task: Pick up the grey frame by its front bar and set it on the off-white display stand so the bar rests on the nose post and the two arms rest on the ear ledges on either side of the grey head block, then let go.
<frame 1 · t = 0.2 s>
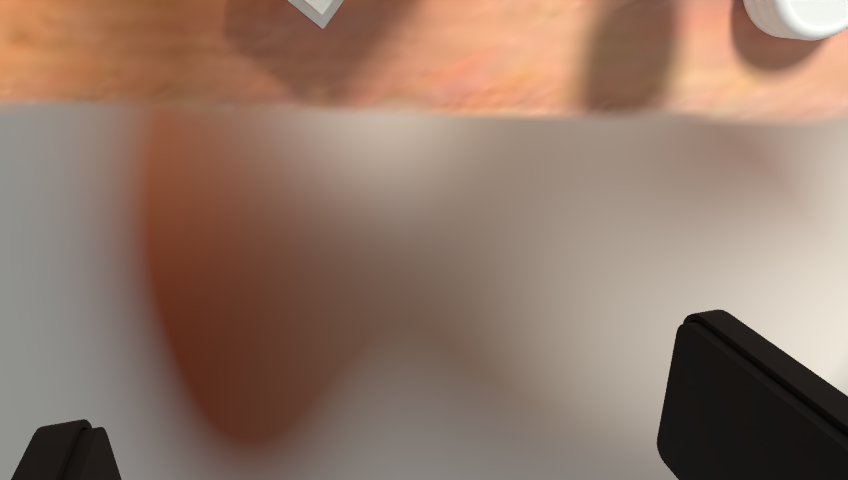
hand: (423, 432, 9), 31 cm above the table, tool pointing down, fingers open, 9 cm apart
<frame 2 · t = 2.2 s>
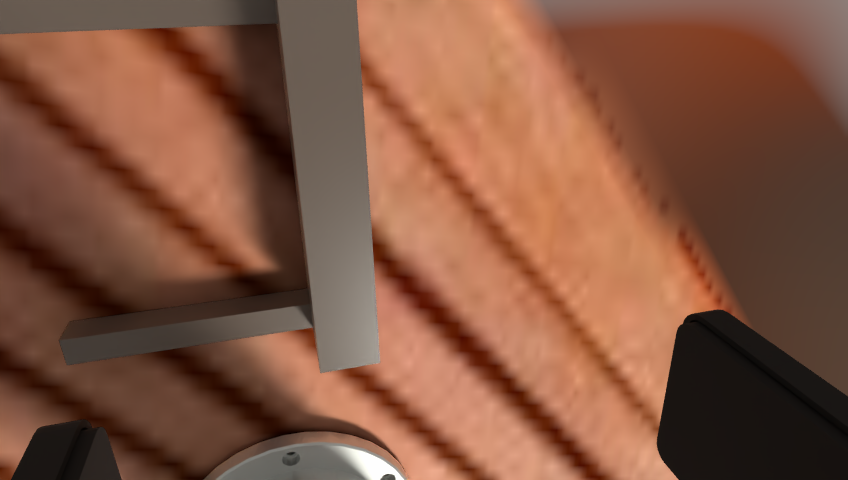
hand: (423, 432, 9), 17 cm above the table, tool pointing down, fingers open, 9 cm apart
grey frame: (322, 164, 25), on the table
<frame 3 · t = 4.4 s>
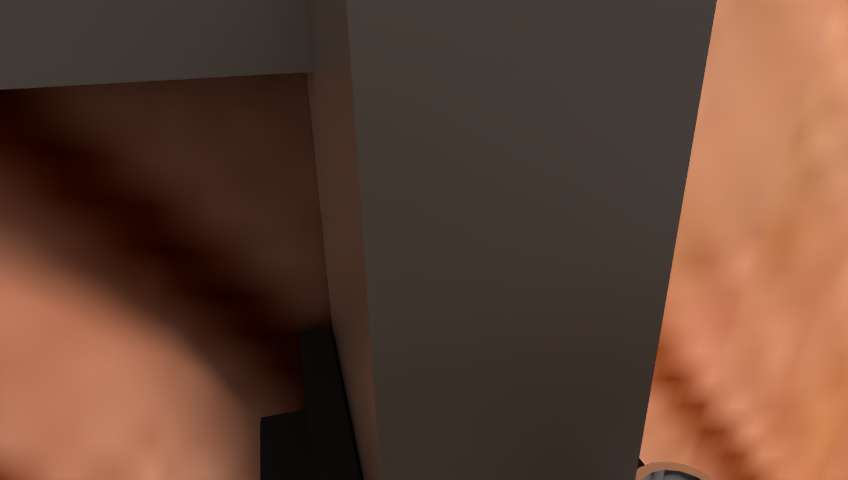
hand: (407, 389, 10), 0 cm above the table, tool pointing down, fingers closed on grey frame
grey frame: (404, 383, 11), on the table, touching gripper
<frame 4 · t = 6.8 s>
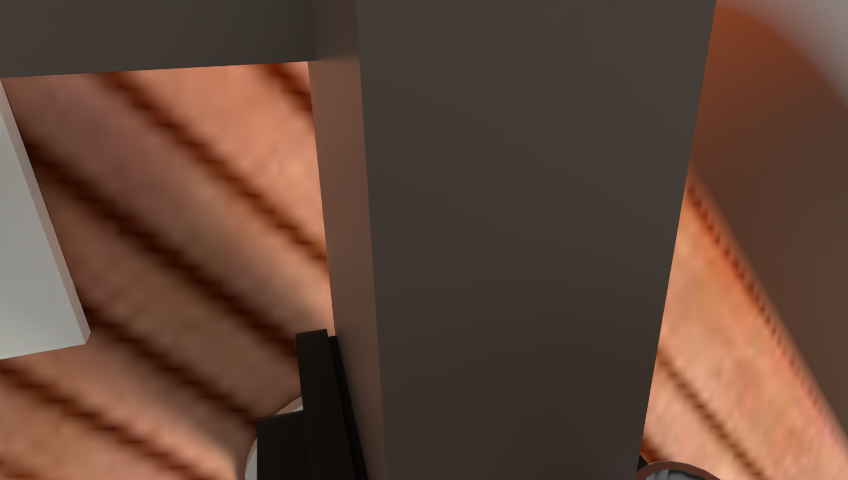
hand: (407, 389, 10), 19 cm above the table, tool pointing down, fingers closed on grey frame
grey frame: (405, 376, 11), point 19 cm above the table, touching gripper
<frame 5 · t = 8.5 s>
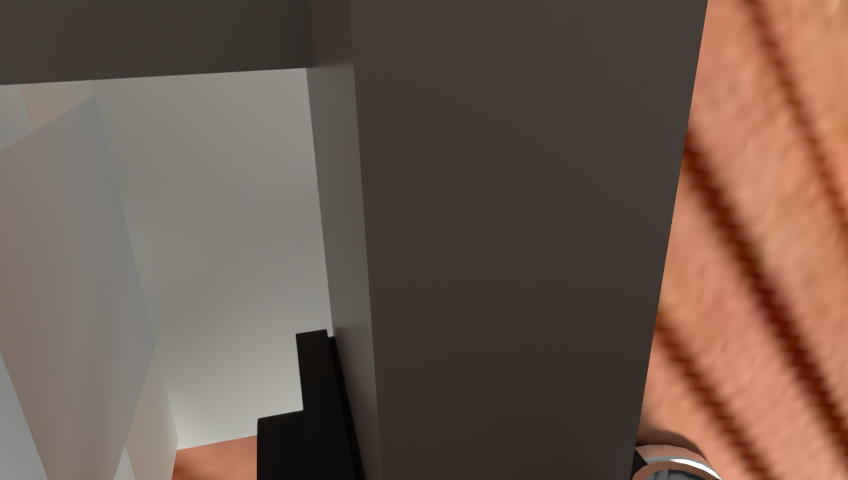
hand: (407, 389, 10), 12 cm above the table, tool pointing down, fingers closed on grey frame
stand: (212, 212, 20), on the table
grey frame: (403, 379, 11), point 11 cm above the table, touching gripper
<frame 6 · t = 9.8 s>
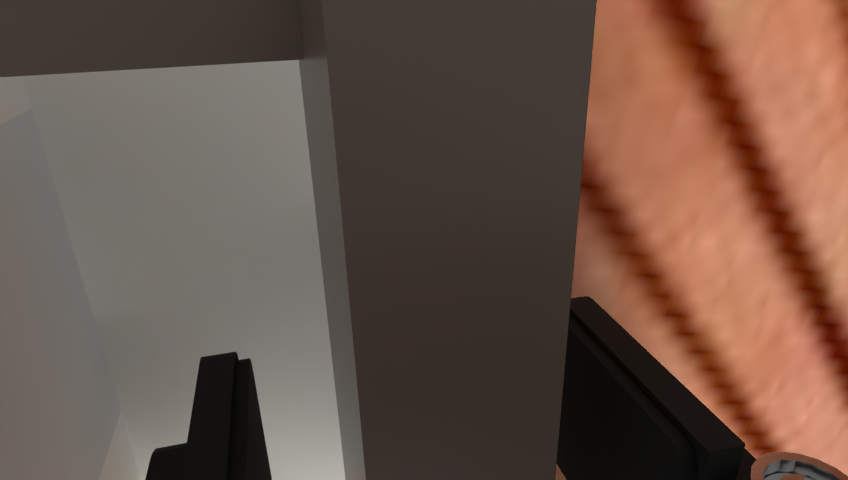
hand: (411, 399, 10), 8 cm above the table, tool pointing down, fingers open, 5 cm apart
stand: (189, 248, 16), on the table
grey frame: (389, 340, 12), point 6 cm above the table, touching stand
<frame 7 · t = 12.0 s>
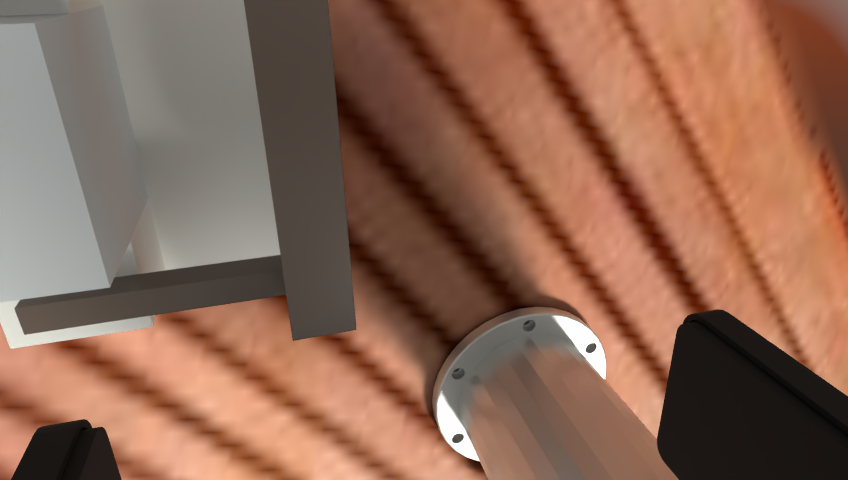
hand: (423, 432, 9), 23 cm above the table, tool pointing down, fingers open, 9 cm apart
stand: (188, 99, 28), on the table
grey frame: (293, 121, 23), point 6 cm above the table, touching stand
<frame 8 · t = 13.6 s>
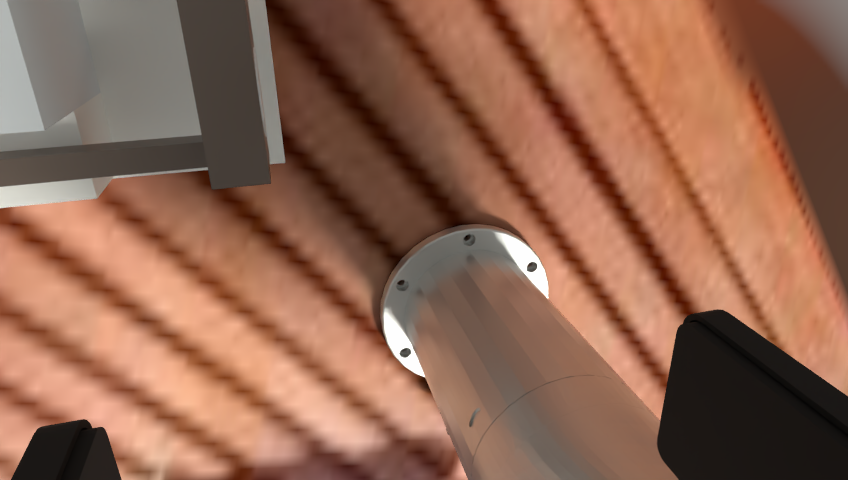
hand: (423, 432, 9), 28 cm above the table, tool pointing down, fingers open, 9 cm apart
stand: (136, 2, 30), on the table
grey frame: (220, 3, 26), point 6 cm above the table, touching stand
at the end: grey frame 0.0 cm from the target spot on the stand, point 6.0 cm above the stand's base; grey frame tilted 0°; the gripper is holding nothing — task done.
